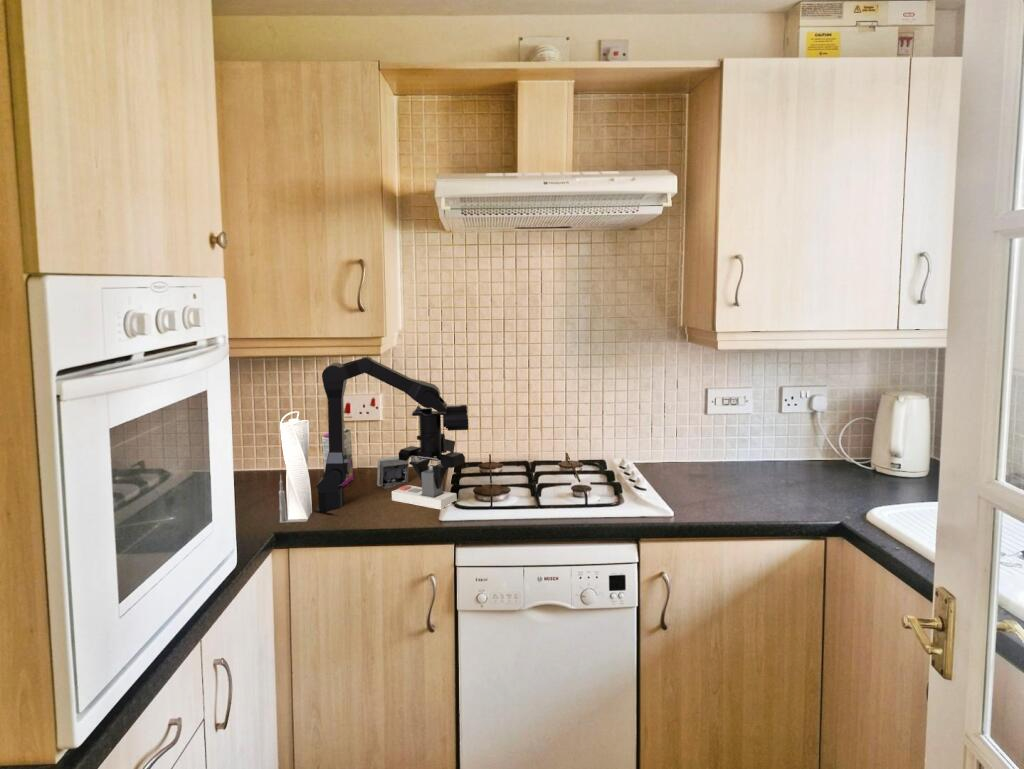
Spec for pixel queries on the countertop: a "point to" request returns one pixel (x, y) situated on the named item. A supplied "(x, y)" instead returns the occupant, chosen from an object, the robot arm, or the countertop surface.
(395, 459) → the electrical switch
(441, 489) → the block
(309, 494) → the skyscraper
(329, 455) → the robot arm
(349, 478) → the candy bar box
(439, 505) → the power strip
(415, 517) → the countertop surface
